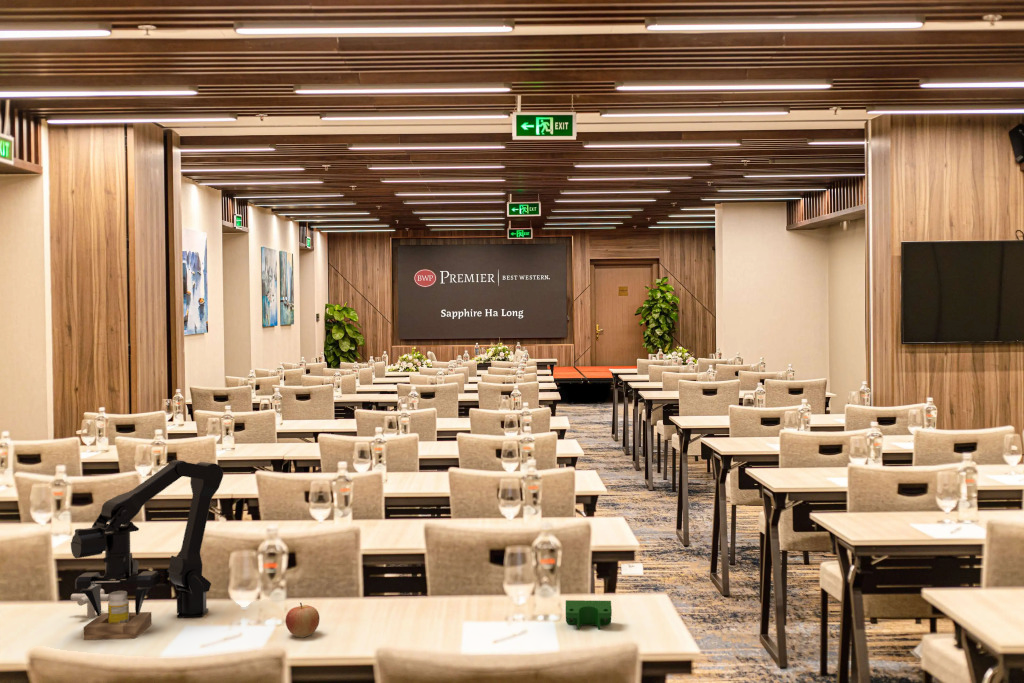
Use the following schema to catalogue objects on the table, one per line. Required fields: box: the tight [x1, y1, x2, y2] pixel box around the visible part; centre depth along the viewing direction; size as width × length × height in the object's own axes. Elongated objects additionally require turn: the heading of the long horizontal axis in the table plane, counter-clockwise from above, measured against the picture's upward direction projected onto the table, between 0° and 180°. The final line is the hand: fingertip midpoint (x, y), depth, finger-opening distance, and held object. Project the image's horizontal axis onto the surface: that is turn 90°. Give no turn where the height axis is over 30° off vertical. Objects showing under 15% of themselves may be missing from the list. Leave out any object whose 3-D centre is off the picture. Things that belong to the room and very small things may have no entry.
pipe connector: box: [70, 588, 110, 619], centre depth 248 cm, size 10×10×10 cm
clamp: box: [565, 599, 613, 631], centre depth 234 cm, size 12×6×9 cm, turn 81°
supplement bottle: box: [107, 590, 130, 623], centre depth 235 cm, size 5×5×8 cm
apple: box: [285, 602, 320, 638], centre depth 230 cm, size 8×8×8 cm
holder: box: [83, 611, 152, 640], centre depth 235 cm, size 12×12×3 cm
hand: (118, 615), depth 235 cm, fingers open, 9 cm apart
